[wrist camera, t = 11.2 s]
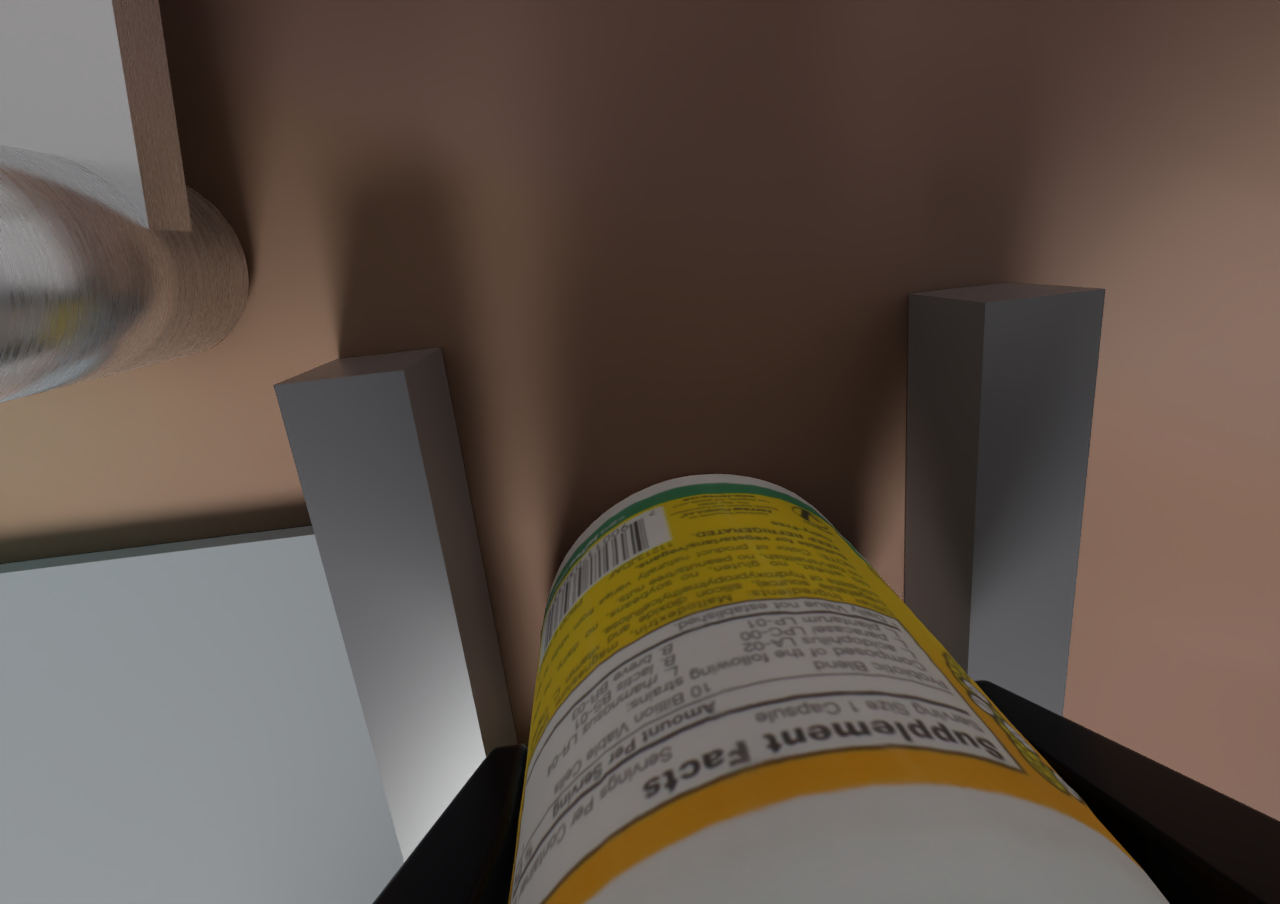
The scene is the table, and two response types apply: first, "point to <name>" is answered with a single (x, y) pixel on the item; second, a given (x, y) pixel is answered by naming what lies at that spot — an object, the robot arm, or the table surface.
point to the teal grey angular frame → (100, 203)
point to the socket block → (934, 541)
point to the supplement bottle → (776, 730)
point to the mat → (185, 731)
